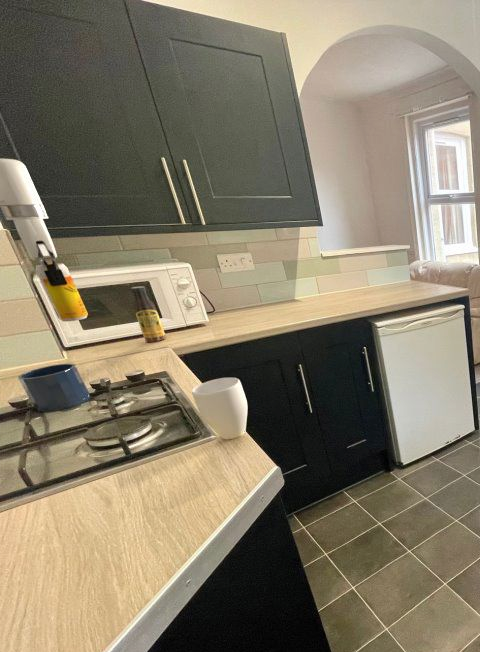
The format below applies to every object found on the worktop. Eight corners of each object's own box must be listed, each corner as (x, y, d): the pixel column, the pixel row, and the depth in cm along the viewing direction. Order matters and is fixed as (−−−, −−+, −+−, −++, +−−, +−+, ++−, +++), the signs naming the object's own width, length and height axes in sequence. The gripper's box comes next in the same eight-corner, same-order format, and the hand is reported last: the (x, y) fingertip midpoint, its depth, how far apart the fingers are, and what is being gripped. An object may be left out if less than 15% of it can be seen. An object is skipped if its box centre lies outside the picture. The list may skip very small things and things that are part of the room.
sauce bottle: (146, 344, 154) (123, 289, 146) (145, 340, 158) (124, 287, 150) (168, 340, 158) (147, 286, 149) (167, 336, 162) (147, 284, 154)
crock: (37, 416, 101) (18, 382, 97) (36, 405, 107) (18, 372, 103) (93, 401, 108) (76, 369, 104) (88, 391, 114) (73, 360, 110)
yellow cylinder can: (92, 317, 119) (68, 263, 113) (64, 322, 115) (37, 266, 109) (84, 315, 122) (60, 262, 116) (56, 320, 117) (29, 265, 111)
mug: (261, 433, 88) (245, 383, 84) (216, 449, 83) (196, 397, 78) (244, 415, 96) (228, 370, 92) (202, 429, 91) (183, 381, 86)
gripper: (3, 214, 110) (36, 283, 117) (4, 213, 99) (40, 289, 107) (43, 213, 115) (73, 279, 122) (48, 212, 105) (80, 284, 112)
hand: (58, 283), depth 114 cm, fingers closed on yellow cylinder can, 6 cm apart
